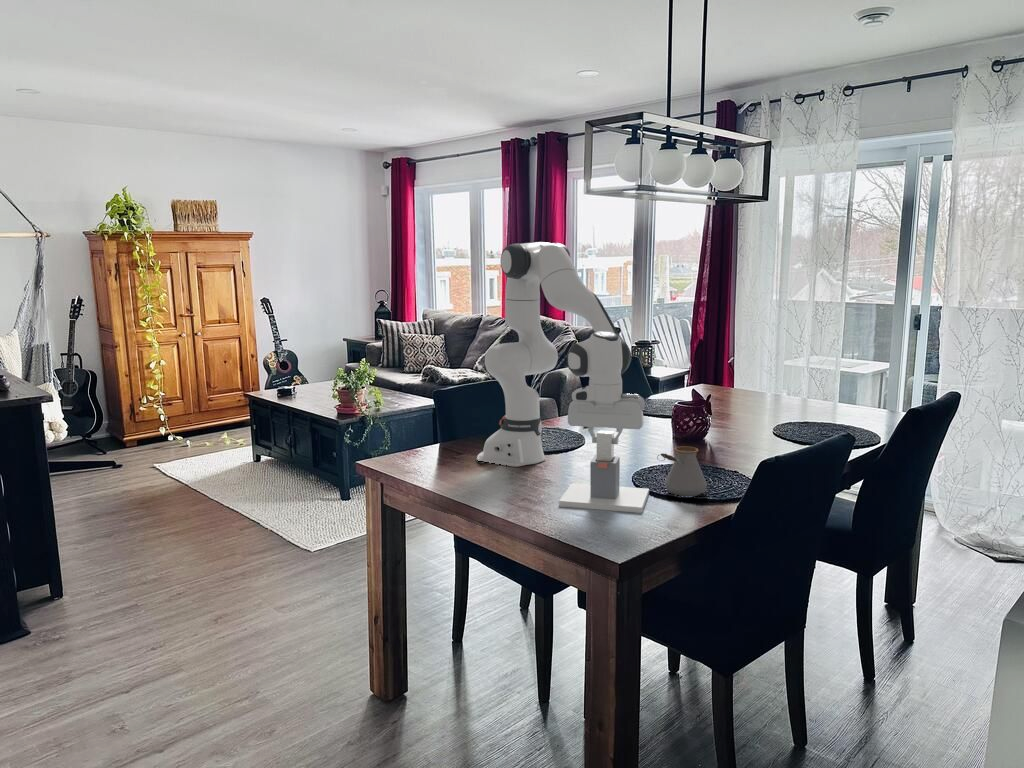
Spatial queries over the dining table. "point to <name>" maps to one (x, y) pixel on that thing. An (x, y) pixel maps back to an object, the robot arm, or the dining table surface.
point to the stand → (605, 490)
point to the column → (605, 446)
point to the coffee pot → (685, 473)
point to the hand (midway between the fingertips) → (605, 443)
